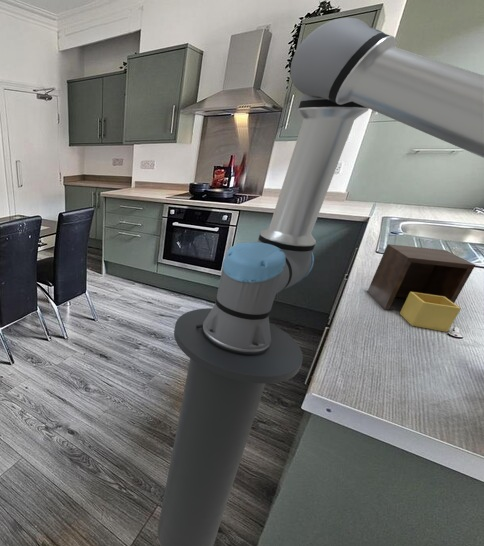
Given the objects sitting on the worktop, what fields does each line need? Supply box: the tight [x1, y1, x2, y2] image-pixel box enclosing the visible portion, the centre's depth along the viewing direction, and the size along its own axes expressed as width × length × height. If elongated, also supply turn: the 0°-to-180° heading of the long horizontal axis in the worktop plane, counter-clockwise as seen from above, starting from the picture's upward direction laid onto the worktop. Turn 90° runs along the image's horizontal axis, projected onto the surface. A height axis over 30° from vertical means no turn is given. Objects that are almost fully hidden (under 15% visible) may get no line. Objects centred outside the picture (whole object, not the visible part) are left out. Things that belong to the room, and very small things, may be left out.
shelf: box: [367, 243, 476, 311], centre depth 90 cm, size 13×13×16 cm
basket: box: [399, 292, 462, 333], centre depth 82 cm, size 7×7×7 cm
